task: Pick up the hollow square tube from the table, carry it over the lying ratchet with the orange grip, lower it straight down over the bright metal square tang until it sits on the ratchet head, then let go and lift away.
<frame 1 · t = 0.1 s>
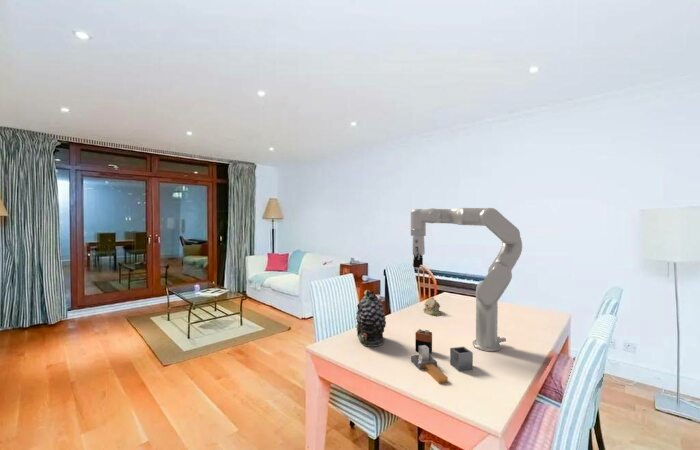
hand: (418, 266, 165), 37 cm above the table, tool pointing down, fingers open, 9 cm apart
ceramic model: (432, 313, 211), on the table
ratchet: (423, 364, 136), on the table
hollow square tube: (461, 366, 134), on the table
battery: (423, 352, 149), on the table
dark pine cone: (370, 340, 163), on the table
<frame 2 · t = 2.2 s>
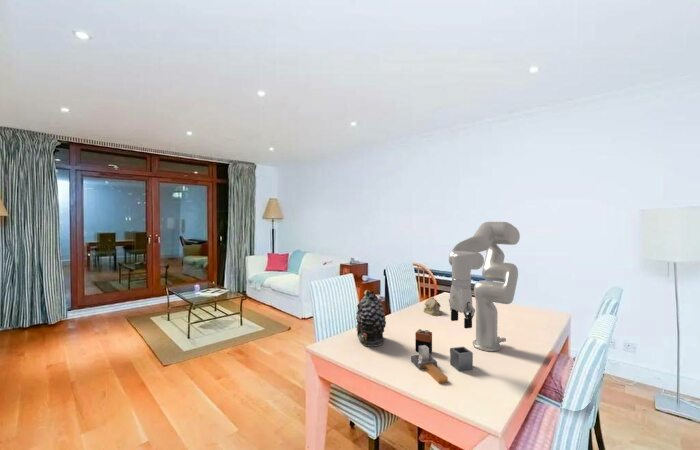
hand: (461, 324, 133), 18 cm above the table, tool pointing down, fingers open, 9 cm apart
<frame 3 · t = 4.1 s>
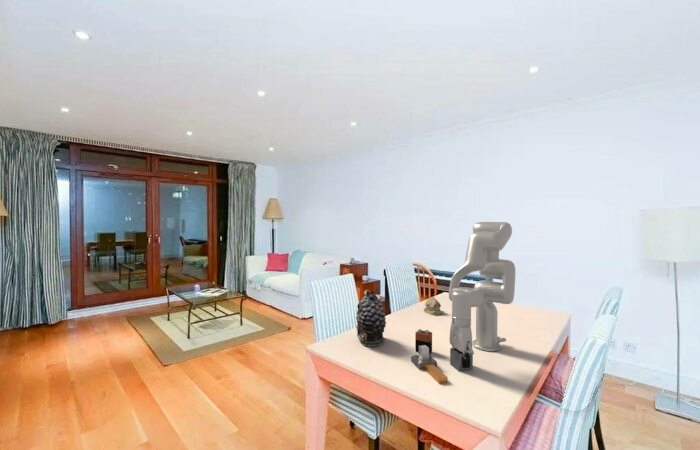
hand: (461, 363, 133), 1 cm above the table, tool pointing down, fingers closed on hollow square tube, 6 cm apart
hollow square tube: (461, 366, 134), on the table, touching gripper
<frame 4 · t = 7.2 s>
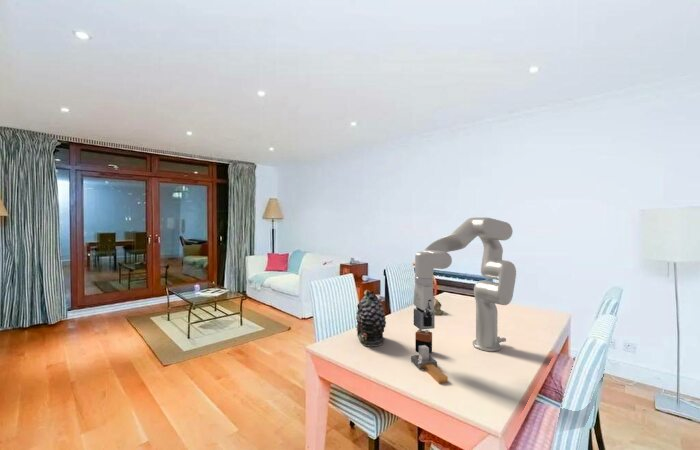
hand: (423, 323, 136), 18 cm above the table, tool pointing down, fingers closed on hollow square tube, 6 cm apart
hollow square tube: (423, 326, 136), point 16 cm above the table, touching gripper
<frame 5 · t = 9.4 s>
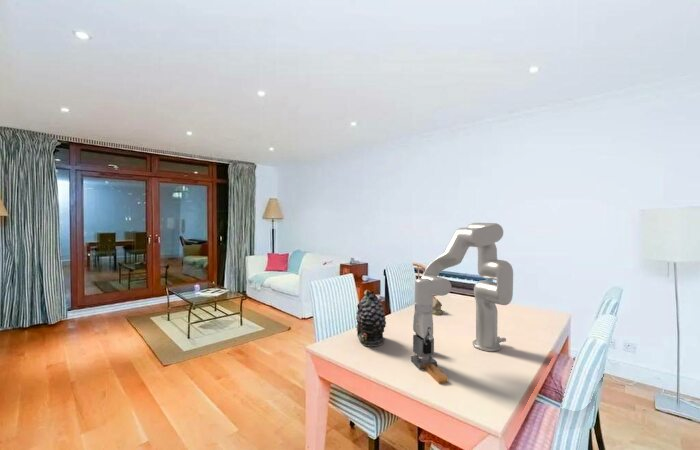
hand: (423, 349, 136), 6 cm above the table, tool pointing down, fingers closed on hollow square tube, 6 cm apart
hollow square tube: (423, 353, 136), point 5 cm above the table, touching gripper
when the fingers open (4 cm above the table, at t = 10.5 s): hollow square tube stays where it is, resting on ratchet.
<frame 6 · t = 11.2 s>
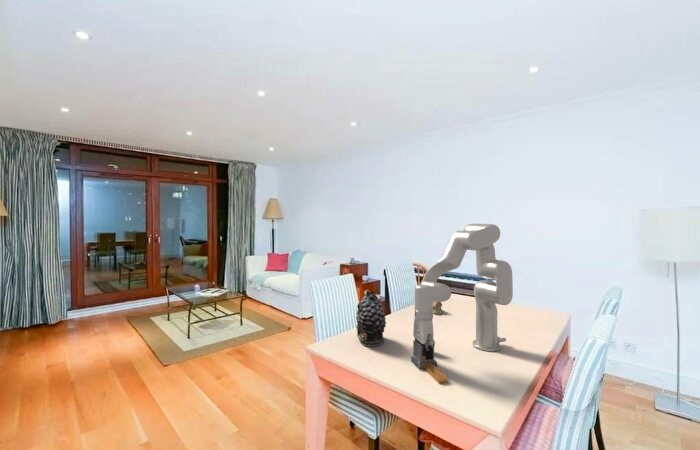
hand: (423, 354, 136), 4 cm above the table, tool pointing down, fingers open, 9 cm apart
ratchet: (423, 364, 136), on the table, touching hollow square tube
hollow square tube: (423, 358, 136), point 2 cm above the table, touching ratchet
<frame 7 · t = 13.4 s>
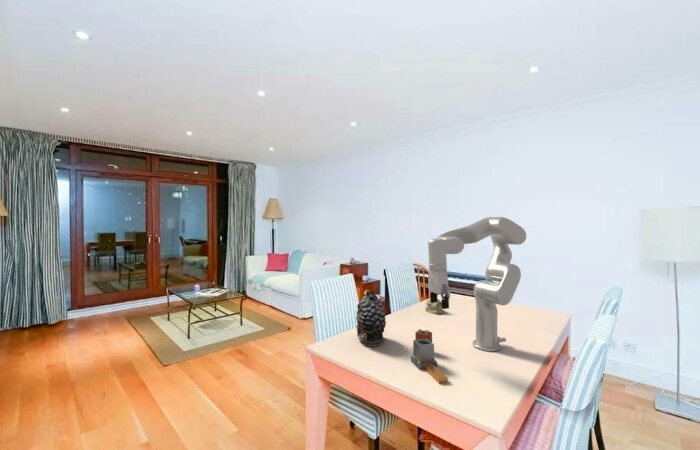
hand: (439, 305, 141), 24 cm above the table, tool pointing down, fingers open, 9 cm apart
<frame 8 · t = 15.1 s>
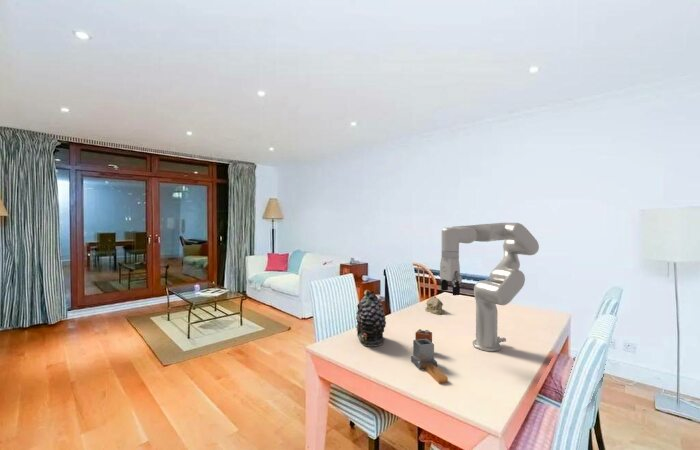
hand: (450, 292, 145), 28 cm above the table, tool pointing down, fingers open, 9 cm apart
at the end: hollow square tube 0.2 cm off-centre on the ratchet, point 2.5 cm above the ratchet's base; the gripper is holding nothing; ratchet moved 0.1 cm from its start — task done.
